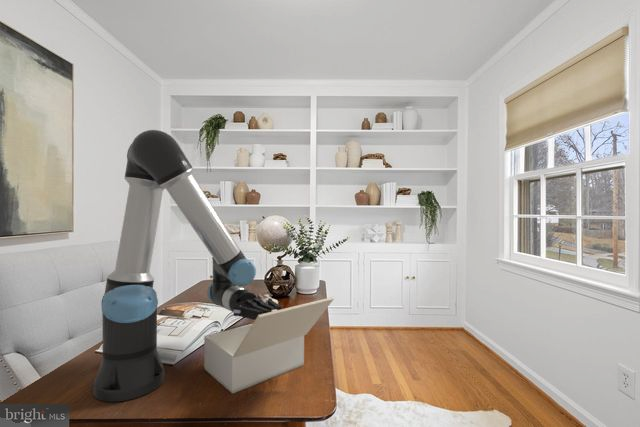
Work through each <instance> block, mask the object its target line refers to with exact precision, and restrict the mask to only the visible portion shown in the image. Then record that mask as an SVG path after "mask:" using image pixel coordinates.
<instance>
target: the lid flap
mask: <svg viewBox="0 0 640 427" xmlns="http://www.w3.org/2000/svg"><path fill="white" fill-rule="evenodd" d="M334 299H335V298H334V297H333V296H331V297H328V298H327V297H326V298H323V299H318V300H315V301H311V302H307V303H302V304H299V305H294V306H289V307H286V308H282V309H281V310H277V311H273V312H269V313H264V314H260V315H258V317H257V318H256V320H255V321H254V320H253V323H252V324H253V325H252V326H251V328H250V329H249V331H248V333H247V334H246V336H245V338H244V339H243V341H242V342H241V344H240V346H239V347H238V349H237V351H236V352H235V354H234V355H233V356H234V358H235V357H238V356H242V355H245V354H248V353H251V352H254V351H257V350H260V349H263V348H266V347H269V346H272V345H276V344H279V343H282V342H285V341H288V340H291V339H294V338H297V337H300V336H303V335H304V336H307V334H309V332H310V330H311V329H312V328H313V327H314V325H315V324H316V323H317V321H318V320H320V318H321V316H322V315H323V314H324V313H325V311H326V310H327V309H328V307H329V306H330V305H331V304H332V302H333V301H334Z"/></svg>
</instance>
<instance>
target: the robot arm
mask: <svg viewBox="0 0 640 427" xmlns="http://www.w3.org/2000/svg"><path fill="white" fill-rule="evenodd" d="M126 159H127V160H126V168H125V173H124V180H125V181H126V182H127V184H128V185H129V187H128V193H127V199H126V205H125V209H124V216H123V221H122V222H123V223H122V227H121V228H122V229H121V233H120V239H119V244H118V252H117V257H116V263H115V269H114V271H113V272H111V273H109V274H108V275H107V277H106V284H105V289H104V294H103V296H102V298H101V302H100V303H101V304H100V305H101V312H102V313H101V314H102V359H101V362H100V365H99V367H98V371H97V373H96V376H95V379H94V382H93V396H94V397H95V399H97V400H99V401H103V402H111V403H113V402H114V403H115V402H116V403H117V402H124V401H129V400H134V399H137V398H140V397H143V396H145V395H147V394H150V393H151V392H153V391H155V390H156V389H157V388H159V387H160V386H161V385H162V384H163V383H164V381H165V367H164V365H163V362H162V360H161V357H160V354H159V351H158V344H157V343H158V304H159V300H158V295H157V294H158V293H157V292H156V289H154V282H155V278H154V276H153V275H152V274H151V271H150V270H151V265H152V260H153V259H152V258H153V253H154V248H155V247H154V246H155V243H156V242H155V241H156V234H157V228H158V223H159V222H158V221H159V217H160V216H159V215H160V209H161V205H162V204H161V203H162V198H163V192H164V191H165V190H166V191H167V193H169V195H170V197H171V198H172V200H173V201H174V202H175V204H176V206H177V207H178V208H179V210H180V212H181V213H182V214H183V215H184V217H185V219H186V220H187V221H188V223H189V224H190V225H191V227H192V228H193V230H194V231H195V233H196V234H197V236H198V238H199V239H200V240H201V242H202V243H203V245H204V246H205V248H206V249H207V251H208V252H209V254H210V256H212V257H211V259H212V282H211V283H210V285H209V286H208V287H207V290H206V291H207V292H206V295H207V298H208V299H209V301H210V302H212V304H214V305H216V306H219V307H220V308H221V307H222V308H223V309H225V310H228V311H230V312H232V313H233V316H235V317H242V318H246V319H249V320H253V321H254V320H256V318H257V317H258V315H260V314H264V313H269V312H273V311H277V310H281V309H283V308H282V306H281V305H280V304H279V305H278V304H277V303H275V302H274V301H272V299H273V298H272V297H271V298H272V299H271V298H269V299H268V300H266V301H263V300H262V299H258V298H257V297H258V296H256V293H254V292H253V291H252V290H249V289H246V288H243V287H245V286H248V285H251V283H252V282H253V281H254V280H255V278H256V273H257V271H256V270H257V269H256V266H255V264H254V263H253V262H252V261H250V260H249V259H248V258H246V256H245V255H244V253H243V251H242V250H241V249H240V247H239V245H238V243H237V242H236V241H235V238H234V237H233V236H232V234H231V232H230V231H229V229H228V228H227V227H226V226H227V225H225V223H224V222H223V220H222V219H221V217H220V216H219V214H218V212H217V211H216V209H215V207H214V206H213V204H212V203H211V201H210V200H209V197H207V195H206V193H205V192H204V190H203V189H202V187H201V186H200V184H199V182H198V181H197V180H196V178H195V176H194V175H193V170H194V168H193V166H192V165H191V162H190V161H189V159H188V158H187V157H186V154H185V152H184V151H183V149H182V148H181V146H180V145H179V143H178V142H177V141H176V140H175V139H174V138H173V136H171V135H170V134H168V132H164V131H162V130H158V129H148V130H145V131H143V132H141V133H139V134H138V135H137V136H136V137H134V139H133V141H132V143H131V144H130V145H129V147H128V149H127V153H126Z"/></svg>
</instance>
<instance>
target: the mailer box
mask: <svg viewBox="0 0 640 427" xmlns="http://www.w3.org/2000/svg"><path fill="white" fill-rule="evenodd" d="M252 325H253V323H251V324H250V323H249V324H245V325H241V326H238V327H234V328H230V329H226V330H222V331H219V332H214V333H211V334H208V335H204V337H203V338H204V339H203V340H204V344H203V345H204V349H203V350H204V352H203V353H204V354H203V356H204V358H203V359H204V360H203V366H204V367H203V369H204V370H205V371H206V372H207V373H208V374H210V375H211V376H212V378H214V379H215V380H216V381H217V382H218V383H219V384H221V386H223V387H224V388H225V389H226V390H227V391H229V392H230V394H236V393H237V392H240V391H242V390H245V389H248V388H250V387H253V386H255V385H258V384H260V383H263V382H265V381H268V380H270V379H272V378H275V377H277V376H280V375H283V374H286V373H287V372H290V371H292V370H295V369H297V368H299V367H300V368H301V367H302V366H304V365H305V335H303V336H300V337H297V338H294V339H291V340H288V341H285V342H282V343H279V344H276V345H272V346H269V347H266V348H263V349H260V350H257V351H254V352H251V353H248V354H245V355H242V356H238V357H235V358H234V356H233V355H234V354H235V352H236V351H237V349H238V347H239V346H240V344H241V342H242V341H243V339H244V338H245V336H246V334H247V333H248V331H249V329H250V328H251V326H252Z"/></svg>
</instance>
